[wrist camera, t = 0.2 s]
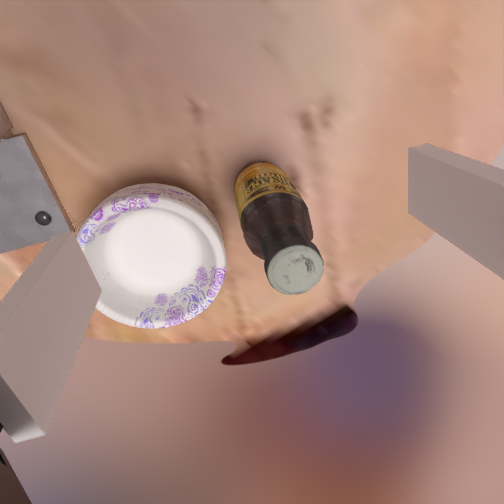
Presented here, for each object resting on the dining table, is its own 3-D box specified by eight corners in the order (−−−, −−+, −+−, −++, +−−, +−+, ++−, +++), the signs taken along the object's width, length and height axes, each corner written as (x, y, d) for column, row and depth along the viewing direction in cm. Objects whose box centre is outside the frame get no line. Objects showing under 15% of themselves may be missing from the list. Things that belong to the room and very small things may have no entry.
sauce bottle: (290, 161, 42) (359, 232, 25) (280, 213, 45) (337, 310, 27) (233, 155, 41) (263, 225, 23) (227, 208, 44) (250, 307, 26)
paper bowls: (135, 145, 39) (122, 163, 32) (246, 223, 45) (256, 253, 38) (65, 251, 43) (40, 288, 36) (175, 310, 49) (173, 351, 42)
